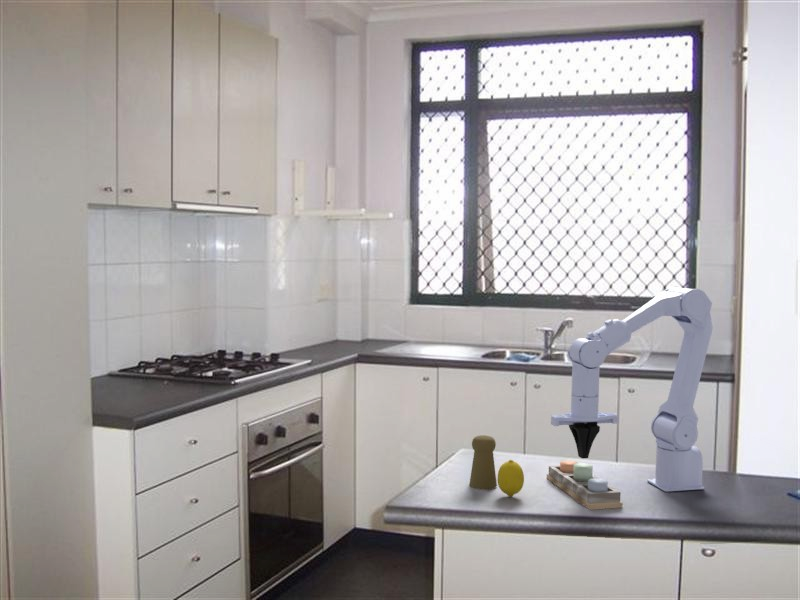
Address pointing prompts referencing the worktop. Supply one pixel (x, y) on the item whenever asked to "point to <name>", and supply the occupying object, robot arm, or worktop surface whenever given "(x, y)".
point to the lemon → (510, 478)
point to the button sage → (582, 472)
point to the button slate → (597, 485)
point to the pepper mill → (483, 463)
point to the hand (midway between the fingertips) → (583, 457)
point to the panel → (584, 490)
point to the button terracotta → (567, 466)
